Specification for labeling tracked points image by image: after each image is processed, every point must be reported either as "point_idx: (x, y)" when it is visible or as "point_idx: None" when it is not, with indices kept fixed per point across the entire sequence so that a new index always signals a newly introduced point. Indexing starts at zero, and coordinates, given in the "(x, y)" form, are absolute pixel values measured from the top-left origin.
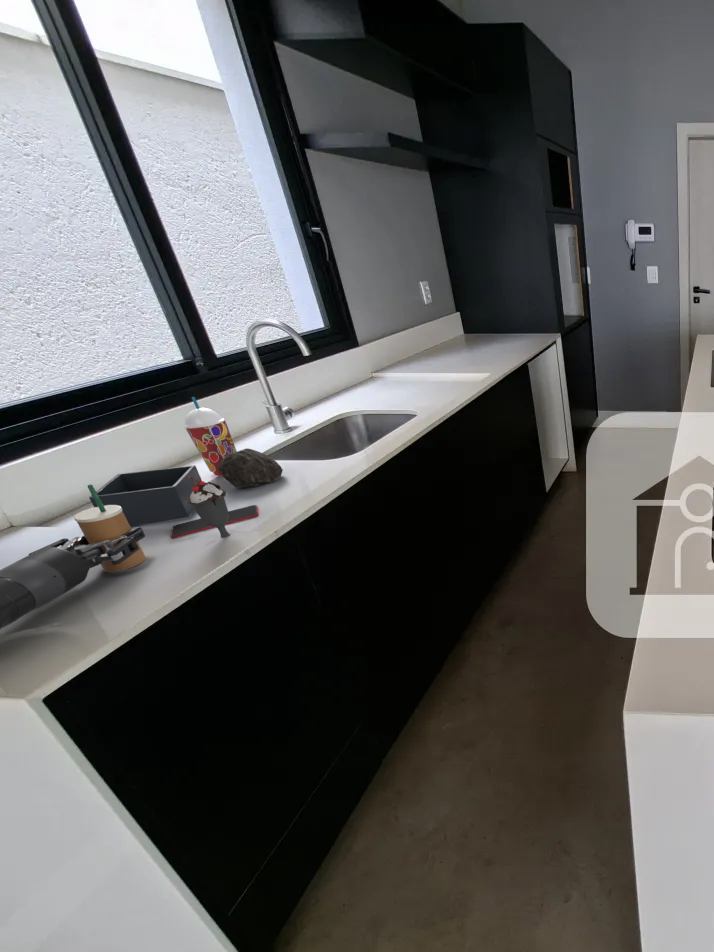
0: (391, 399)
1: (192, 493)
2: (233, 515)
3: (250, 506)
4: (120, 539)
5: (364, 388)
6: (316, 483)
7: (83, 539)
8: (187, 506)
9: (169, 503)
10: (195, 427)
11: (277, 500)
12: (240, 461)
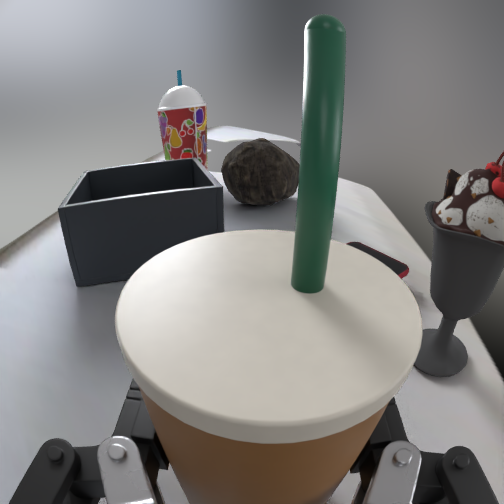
0: (259, 134)
1: (496, 203)
2: None
3: (352, 244)
4: (414, 479)
5: (219, 129)
6: (354, 206)
7: (145, 456)
8: None
9: (199, 229)
10: (178, 107)
11: (346, 232)
12: (271, 154)
